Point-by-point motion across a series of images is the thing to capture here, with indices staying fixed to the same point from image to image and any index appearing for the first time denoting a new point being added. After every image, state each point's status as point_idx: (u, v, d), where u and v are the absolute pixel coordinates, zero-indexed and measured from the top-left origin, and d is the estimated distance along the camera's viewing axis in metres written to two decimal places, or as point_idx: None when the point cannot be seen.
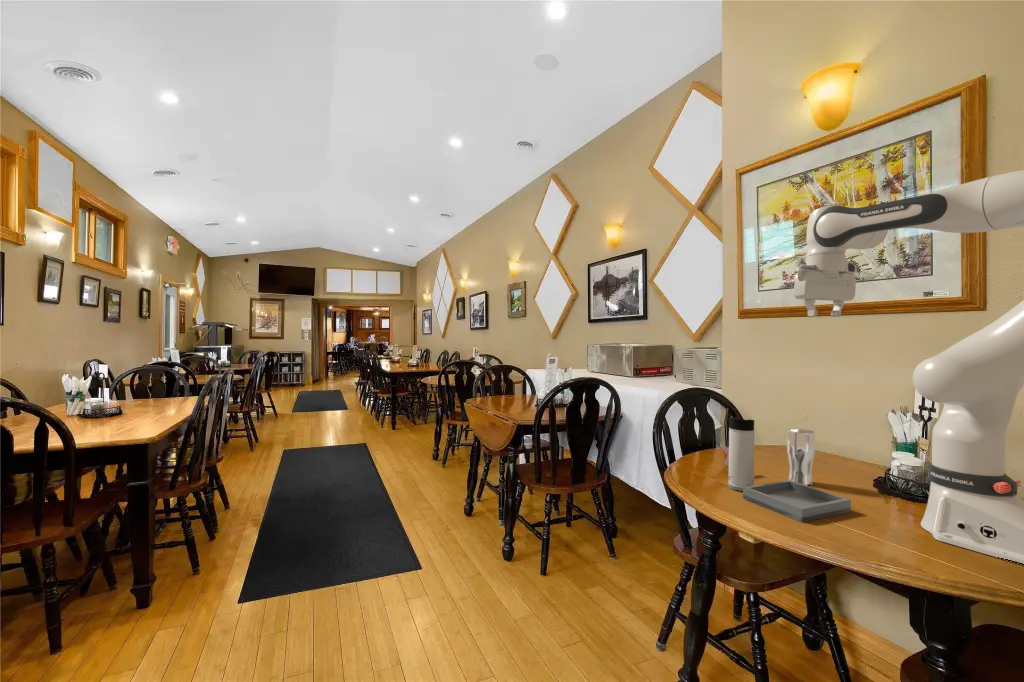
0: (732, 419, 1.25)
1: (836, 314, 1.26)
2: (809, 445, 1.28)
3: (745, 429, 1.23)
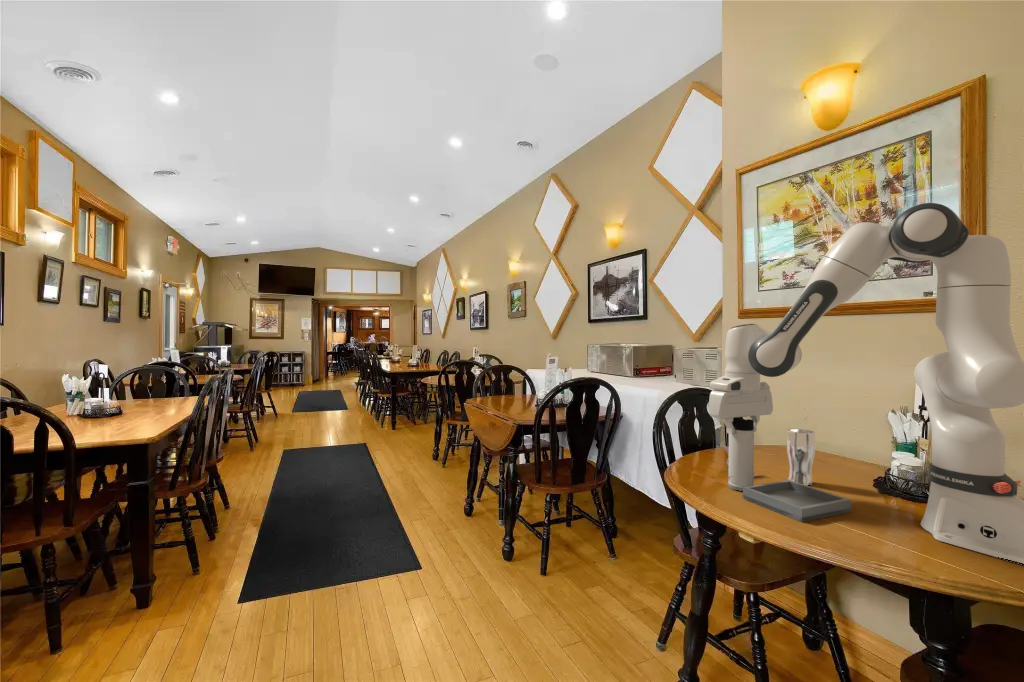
0: None
1: None
2: (809, 445, 1.28)
3: (744, 429, 1.23)
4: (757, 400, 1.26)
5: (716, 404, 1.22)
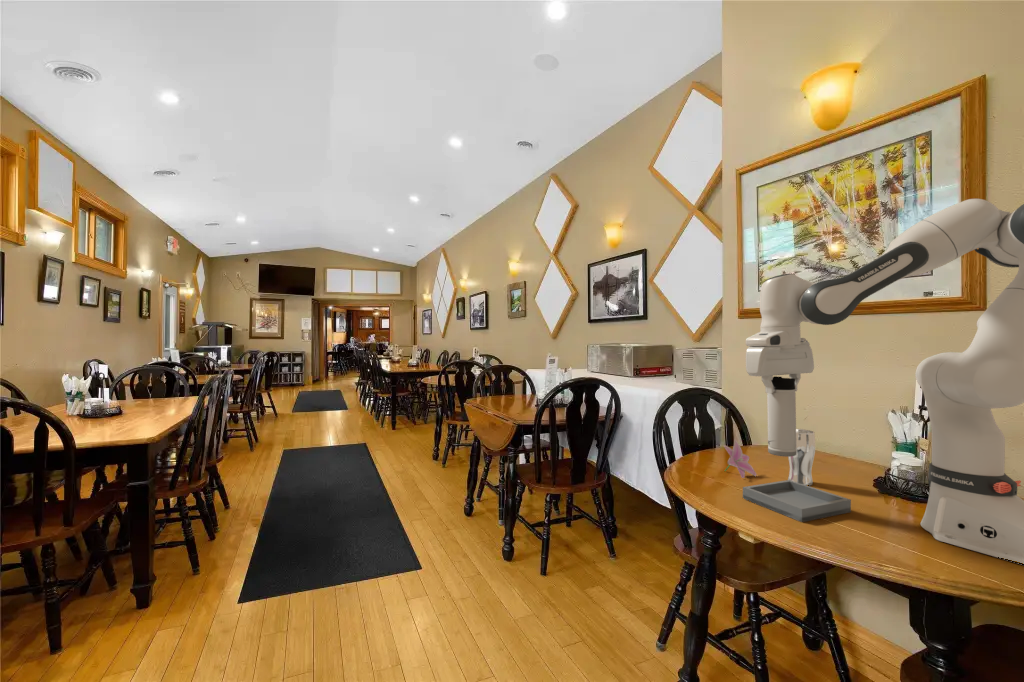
0: None
1: None
2: (809, 445, 1.28)
3: (786, 388, 1.13)
4: (797, 357, 1.16)
5: (754, 361, 1.12)
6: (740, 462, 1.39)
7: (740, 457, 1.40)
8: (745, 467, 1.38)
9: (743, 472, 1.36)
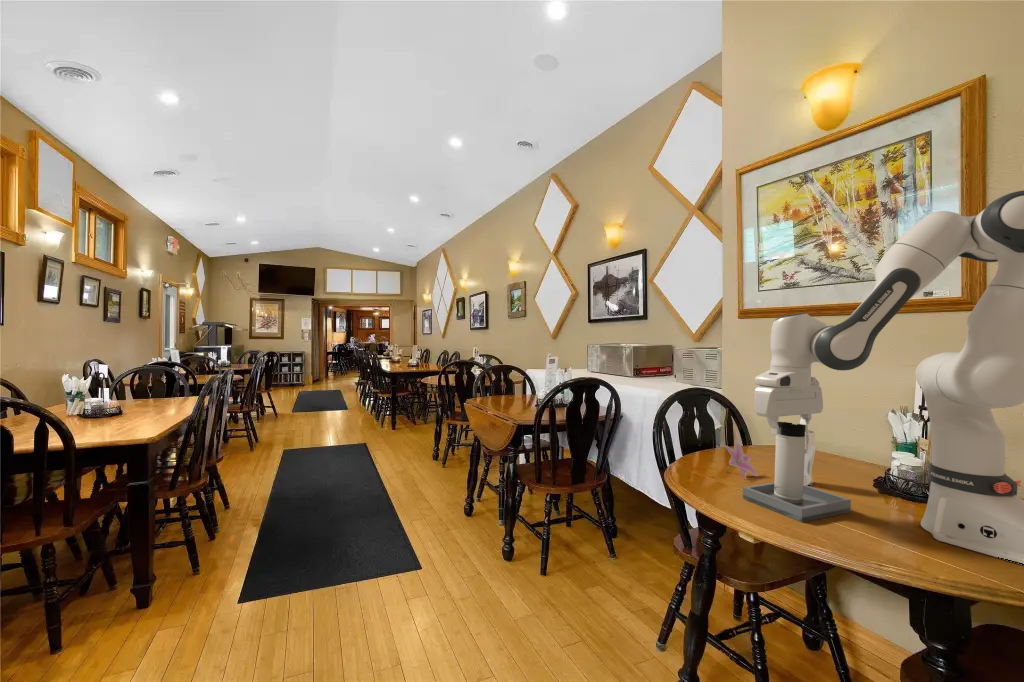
0: (781, 424, 1.13)
1: None
2: (809, 445, 1.28)
3: (796, 435, 1.11)
4: (806, 397, 1.14)
5: (763, 402, 1.10)
6: (741, 462, 1.39)
7: (741, 457, 1.40)
8: (746, 467, 1.38)
9: (745, 472, 1.36)
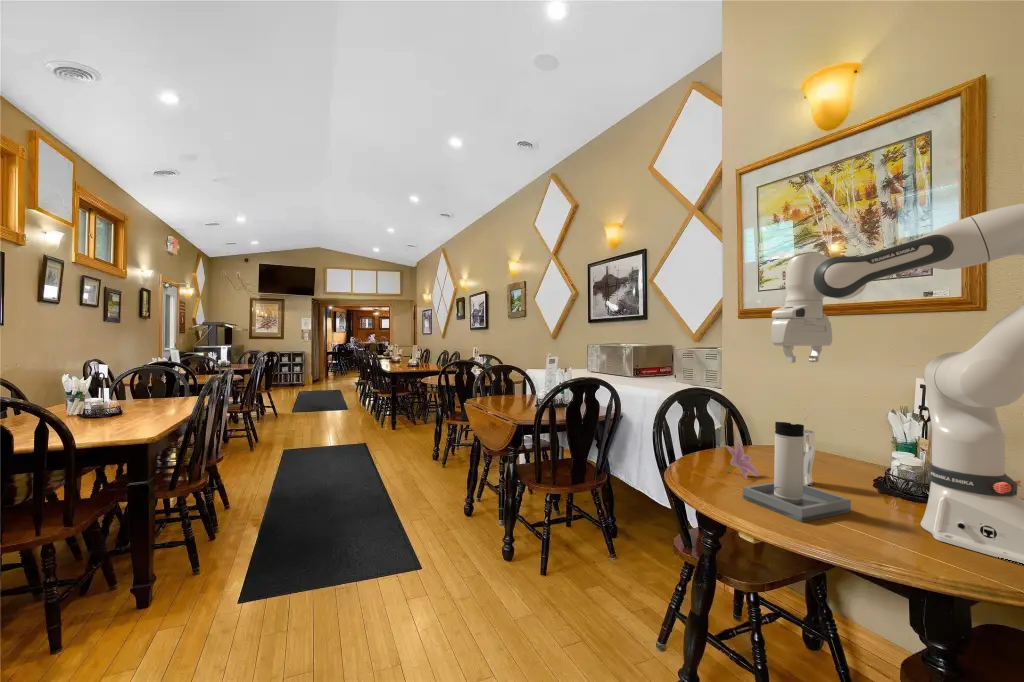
0: (779, 424, 1.13)
1: None
2: (809, 445, 1.28)
3: (794, 434, 1.11)
4: (818, 330, 1.25)
5: (780, 332, 1.21)
6: (742, 462, 1.39)
7: (742, 457, 1.40)
8: (747, 467, 1.37)
9: (746, 472, 1.36)
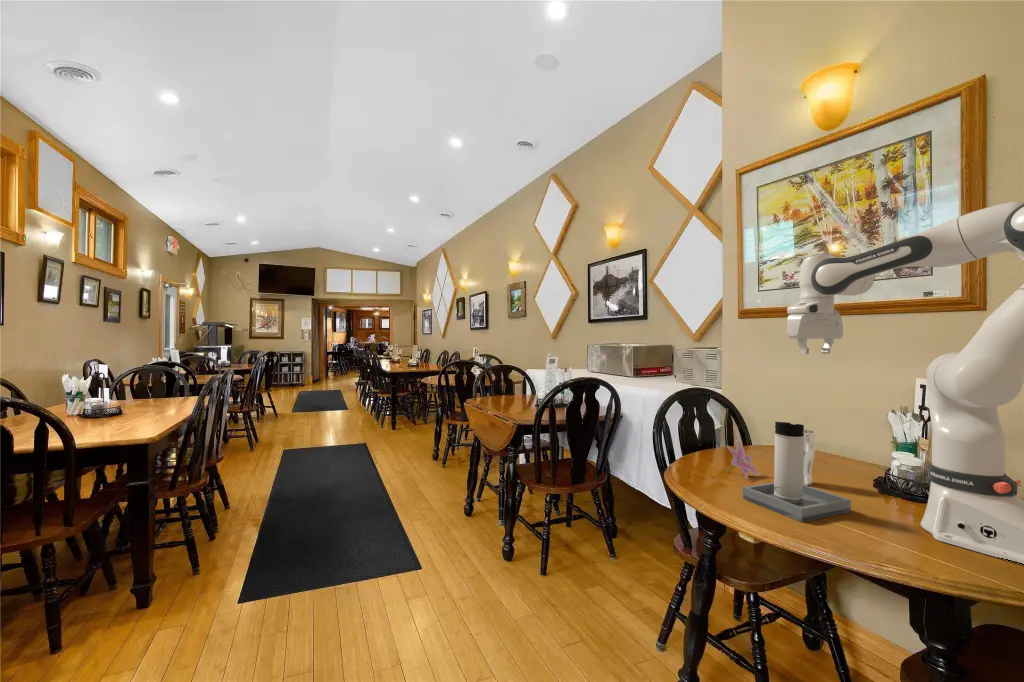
0: (779, 424, 1.14)
1: None
2: (809, 445, 1.28)
3: (794, 434, 1.11)
4: (830, 324, 1.38)
5: (794, 326, 1.34)
6: (742, 462, 1.39)
7: (743, 457, 1.40)
8: (748, 467, 1.37)
9: (747, 472, 1.36)
